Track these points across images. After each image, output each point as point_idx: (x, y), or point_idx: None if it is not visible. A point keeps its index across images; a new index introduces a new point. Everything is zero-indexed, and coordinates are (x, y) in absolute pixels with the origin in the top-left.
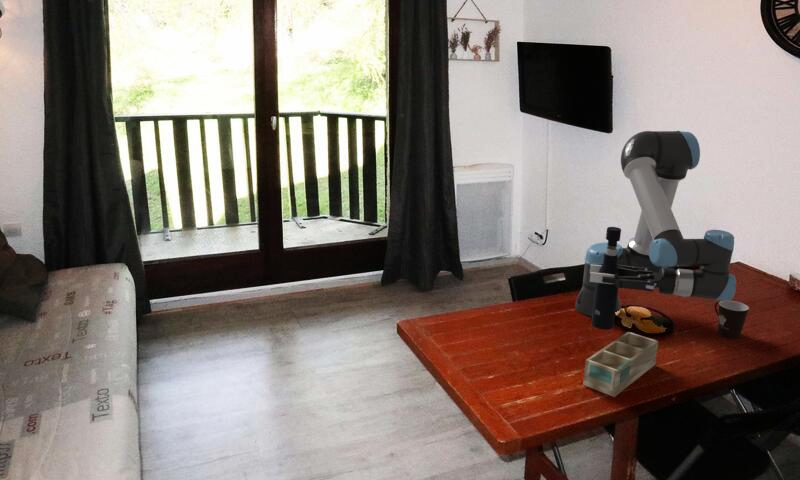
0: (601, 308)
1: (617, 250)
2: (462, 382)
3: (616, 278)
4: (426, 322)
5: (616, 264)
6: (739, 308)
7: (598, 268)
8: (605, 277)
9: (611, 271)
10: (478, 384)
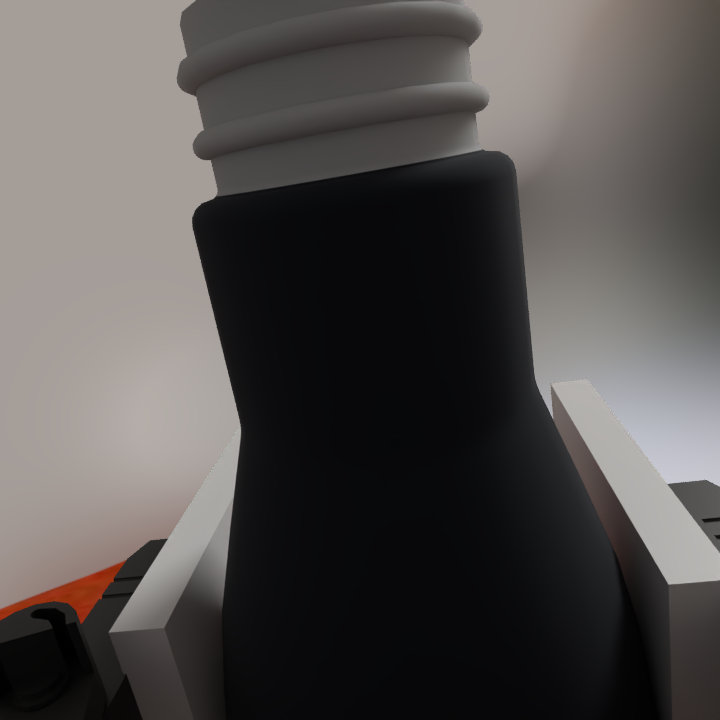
0: None
1: (283, 23)
2: (106, 584)
3: (8, 702)
4: None
5: (329, 465)
6: None
7: (579, 468)
8: (145, 564)
9: (229, 545)
10: (83, 619)
